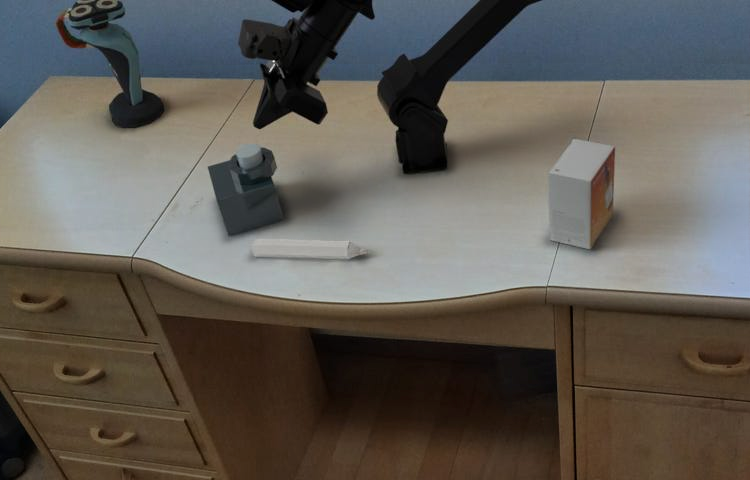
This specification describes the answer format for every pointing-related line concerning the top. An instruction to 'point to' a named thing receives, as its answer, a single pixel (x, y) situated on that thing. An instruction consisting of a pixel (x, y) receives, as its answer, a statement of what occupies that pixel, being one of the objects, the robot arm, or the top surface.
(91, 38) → the electric shaver
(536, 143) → the top surface
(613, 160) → the small box
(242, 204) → the push button box
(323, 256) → the pale grey rod
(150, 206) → the top surface
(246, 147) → the pale grey disc
